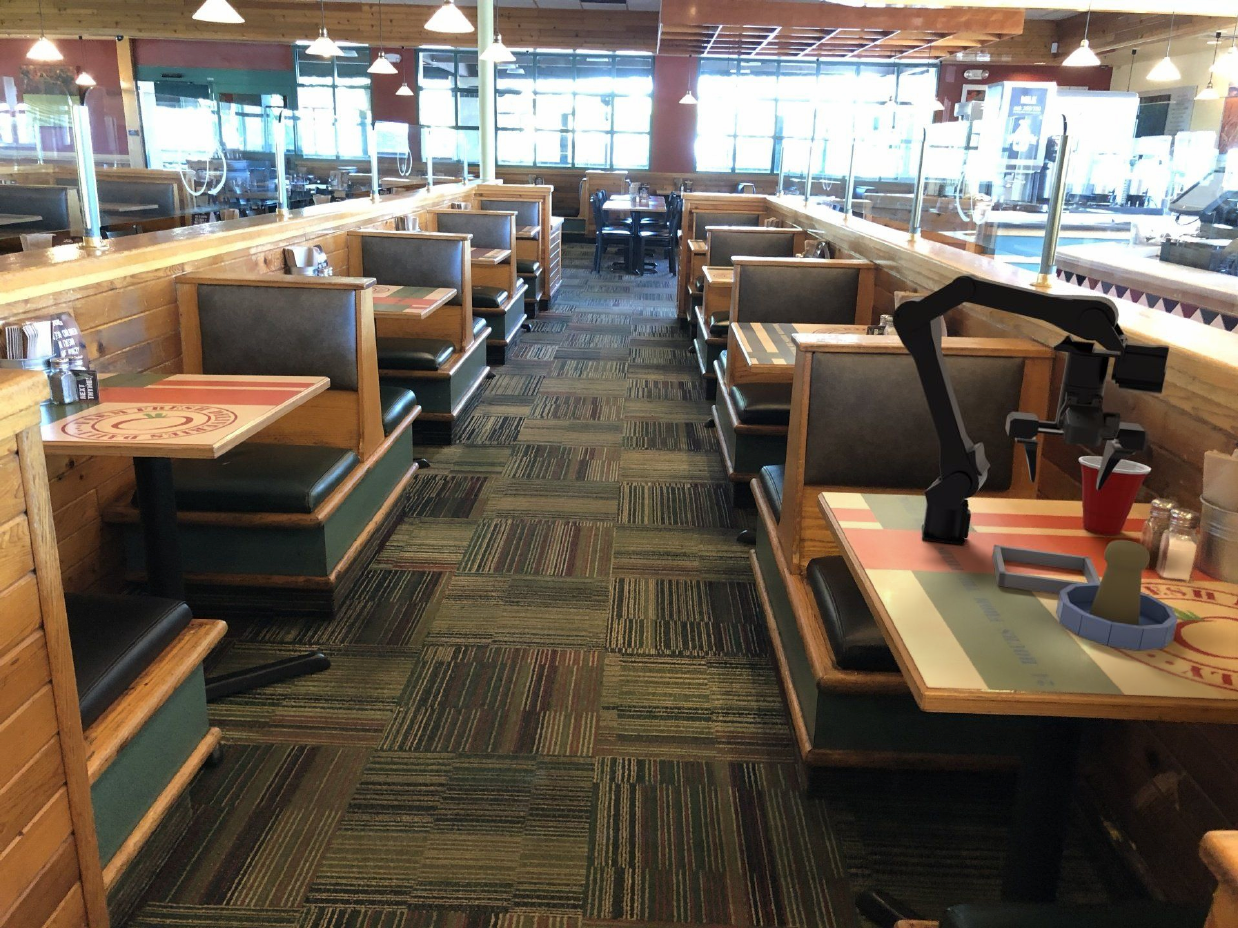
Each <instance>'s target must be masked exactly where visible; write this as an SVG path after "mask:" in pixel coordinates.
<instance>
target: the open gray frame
mask: <svg viewBox="0 0 1238 928" xmlns="http://www.w3.org/2000/svg"><path fill="white" fill-rule="evenodd" d="M991 557H992V563H993V568H994V571H995V578H996V582H997V583H996V584H997V586H998V587H1005V588H1011V589H1017V590H1026V591H1031V592H1032V591H1034V592H1041V593H1047V594H1054V595H1059V594H1060V591H1061V590H1063V589H1064V588H1066V587H1068V586H1069V585H1071V584H1082V583H1101V579H1100V577H1099V574H1098V572H1097V570H1096V567H1095V566H1094V563H1093V561H1092V559H1091V557H1090V556H1085V555H1077V554H1069V553H1062V552H1053V551H1047V550H1046V551H1045V550H1040V549H1030V548H1022V547H1015V546H1009V545H1008V546H1007V545H1000V544H994V545H993V548H992V556H991ZM1004 561H1009V562H1016V563H1023V564H1031V565H1037V566H1047V567H1054V568H1061V569H1068V570H1069V569H1070V570H1075V571H1076V570H1077V571H1082V574H1083V575H1084V578H1085V580H1086V582H1085V581H1084V582H1083V581H1077V580H1071V579H1070V580H1069V579H1061V578H1056V577H1055V578H1054V577H1047V576H1040V575H1034V574H1033V575H1031V574H1025V573H1017V572H1011V571H1006V567H1005V564H1004Z"/></svg>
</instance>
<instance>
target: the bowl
mask: <svg viewBox="0 0 1238 928" xmlns="http://www.w3.org/2000/svg"><path fill="white" fill-rule="evenodd" d="M1099 585H1100V583H1088V582H1085V583H1082V584H1071V585H1069V586H1068V587H1066V588H1064V589H1063V590H1061V591H1060V594H1058V599H1057V605H1056V609H1055V610H1056V611H1055V613H1056V615H1057V618H1058V622H1059V624H1061V625H1062V626H1063V627H1065V628H1066V629H1068V630H1070V632H1072V633H1074V634H1075V635H1077V636H1078V637H1081V638H1084V639H1086V640H1089V641H1093V642H1095V643H1098V644H1101V645H1104V646H1106V647H1110V648H1111V647H1112V648H1113V647H1114V648H1119V649H1126V650H1133V651H1139V652H1140V651H1149V650H1160V649H1165V647H1167V646H1168V645H1169V644H1170V643H1171V642H1172V641H1174V637H1175V632H1176V628H1177V623H1178V620H1179V618H1178V616H1177V615H1176V612H1175V611H1174V610H1173V608H1172V606H1170V605H1169V604H1167V603H1165V602H1163V601H1162V600H1160V599H1158V598H1156V597H1154V596H1153V595H1151V594H1147V593H1144V592H1142V591H1141V597H1140V615H1139V626H1137V625H1130V624H1123V623H1116V622H1111V621H1108V620H1105V619H1102V618H1099V617H1096V616H1093V615H1090V614H1089V613H1090V610H1091V607H1092V605H1093V602H1094V599H1095V596H1096V594H1097V591H1098V588H1099Z"/></svg>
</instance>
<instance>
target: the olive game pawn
mask: <svg viewBox="0 0 1238 928" xmlns="http://www.w3.org/2000/svg"><path fill="white" fill-rule="evenodd" d="M1103 554H1104V556H1103V557H1104V561H1105V563H1106V567H1105V570H1104V572H1103V574H1102V578H1101V579H1100V581H1101V583H1100V585H1099V588H1098V591H1097V594H1096V596H1095V599H1094V602H1093V605H1092V607H1091V610H1090V613H1089V614H1090V615H1093V616H1096V617H1099V618H1102V619H1105V620H1108V621H1111V622H1116V623H1123V624H1130V625H1137V626H1139V615H1140V597H1141V592H1142V578H1143V577H1142V575H1143V571H1144V570H1145V569H1147V566H1148V565H1149V562H1150V557H1151V556H1150V552H1149V551H1148V548H1147V547H1145V546H1144V545H1143V544H1141V543H1138V542H1135V541H1133V540H1127V539H1116V540H1112V541H1110V542H1109V543H1108V544H1107V546H1106V547H1105V550H1104V553H1103Z"/></svg>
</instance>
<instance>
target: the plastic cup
mask: <svg viewBox="0 0 1238 928" xmlns="http://www.w3.org/2000/svg"><path fill="white" fill-rule="evenodd" d="M1102 458H1103V456H1092V455H1088V456H1087V455H1085V456H1080V457H1079V458H1078V462H1079V463H1080V470H1081V478H1082V479H1081V482H1082V483H1081V485H1082V486H1081V487H1082V488H1081V489H1082V491H1081V501H1082V503H1081V505H1082V506H1081V508H1082V525H1083V528H1084V529H1085V530H1086V531H1089V532H1091V533H1094V534H1098V535H1103V536H1118V535H1120V533H1121V532H1122V531H1123V529H1124V526H1125V523H1126V521H1127V518H1128V516H1129V515H1130V513H1131V510H1132V507H1133V506H1134V503H1135V500H1136V497H1137V495H1138V493H1139V490H1140V488H1141V486H1142V484H1143V482H1144V480H1145V478H1146V476H1147V475H1148V474H1149V473H1150V472H1151V470H1152V468H1151V467H1149V466H1148V465H1145V464H1142V463H1139V462H1136V461H1132V460H1127V459H1121V460H1120V461H1119V463H1118V464H1117V465H1116V466H1115V468H1114V469H1113V471H1112V472H1111V474H1110V475H1109V477H1108V479H1107V480H1106V482H1105V483H1104V485H1103V487H1102V488H1101V490H1097V489H1096V486H1097V478H1098V474H1099V470H1100V466H1101V462H1102Z"/></svg>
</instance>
